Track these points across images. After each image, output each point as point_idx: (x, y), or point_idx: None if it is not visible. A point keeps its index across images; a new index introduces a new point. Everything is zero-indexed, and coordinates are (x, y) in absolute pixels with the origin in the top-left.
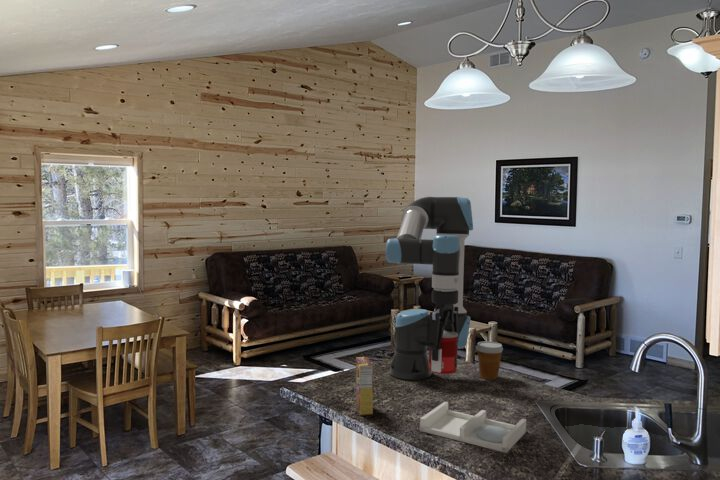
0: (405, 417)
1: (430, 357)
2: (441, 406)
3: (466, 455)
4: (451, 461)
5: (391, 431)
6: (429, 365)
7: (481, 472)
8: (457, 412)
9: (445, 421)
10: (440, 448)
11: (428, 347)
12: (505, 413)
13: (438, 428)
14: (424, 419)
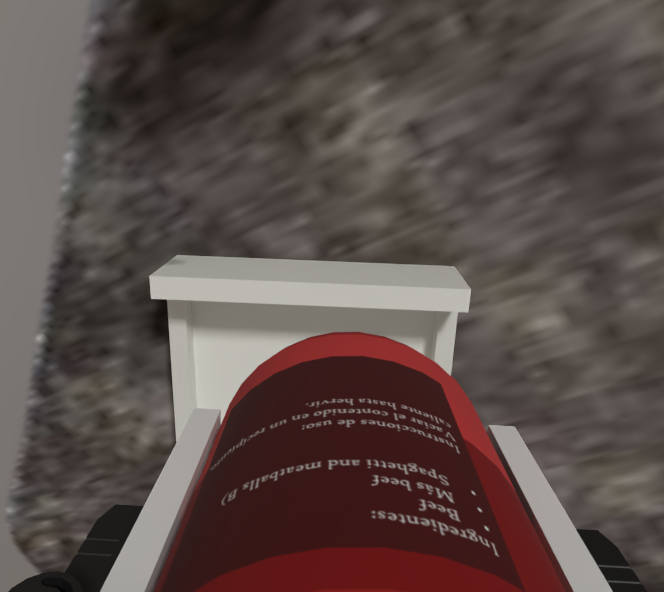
0: (330, 91)
1: (223, 442)
2: (382, 304)
3: (114, 481)
4: (33, 455)
5: (119, 118)
6: (256, 375)
7: (30, 555)
8: (446, 351)
9: (348, 318)
10: (104, 384)
11: (18, 586)
12: (627, 488)
13: (248, 322)
14: (157, 297)
